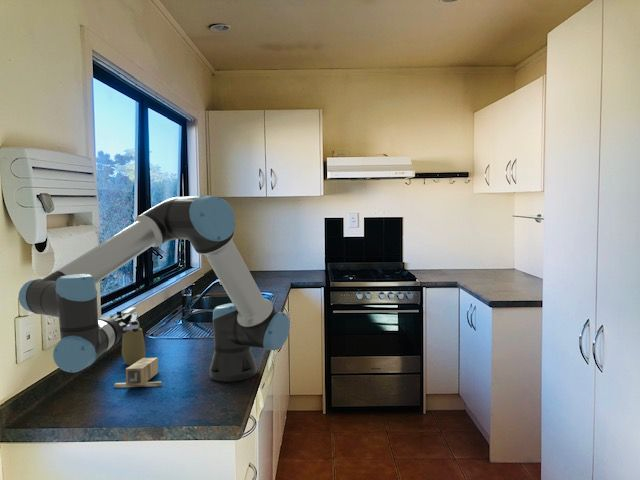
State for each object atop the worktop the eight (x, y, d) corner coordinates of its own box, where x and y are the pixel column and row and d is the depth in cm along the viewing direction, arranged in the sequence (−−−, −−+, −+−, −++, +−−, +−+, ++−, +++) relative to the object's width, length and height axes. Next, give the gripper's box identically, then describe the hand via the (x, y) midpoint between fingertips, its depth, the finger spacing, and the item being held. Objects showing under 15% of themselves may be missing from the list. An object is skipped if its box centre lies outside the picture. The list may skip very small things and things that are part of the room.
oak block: (142, 385, 156) (158, 372, 172) (142, 368, 156) (157, 357, 172) (125, 385, 155) (143, 373, 172) (125, 368, 156) (142, 357, 172)
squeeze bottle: (120, 367, 178) (118, 316, 177) (123, 360, 186) (120, 311, 184) (145, 365, 180) (143, 314, 179) (146, 358, 188) (144, 309, 187)
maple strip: (161, 385, 160) (161, 381, 160) (160, 386, 159) (160, 382, 159) (115, 386, 159) (115, 383, 159) (114, 388, 158) (114, 384, 158)
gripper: (72, 353, 120) (110, 326, 143) (129, 350, 120) (158, 324, 143) (69, 321, 119) (108, 299, 142) (126, 318, 119) (156, 297, 143)
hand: (133, 312), depth 143 cm, fingers closed
